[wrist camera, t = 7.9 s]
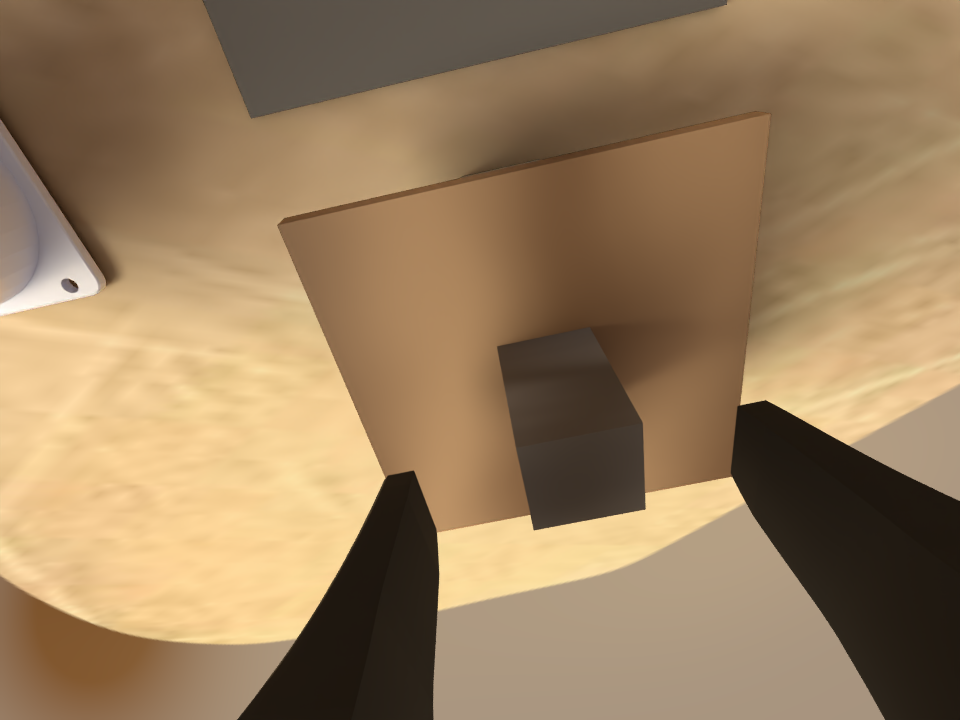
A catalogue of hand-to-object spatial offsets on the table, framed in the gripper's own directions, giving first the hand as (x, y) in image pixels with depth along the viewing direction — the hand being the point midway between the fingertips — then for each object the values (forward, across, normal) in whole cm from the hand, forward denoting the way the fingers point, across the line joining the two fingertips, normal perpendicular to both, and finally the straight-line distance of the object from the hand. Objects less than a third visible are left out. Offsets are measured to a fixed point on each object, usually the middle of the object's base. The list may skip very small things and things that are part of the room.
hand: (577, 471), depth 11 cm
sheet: (+4, 0, 0) cm, 4 cm away
